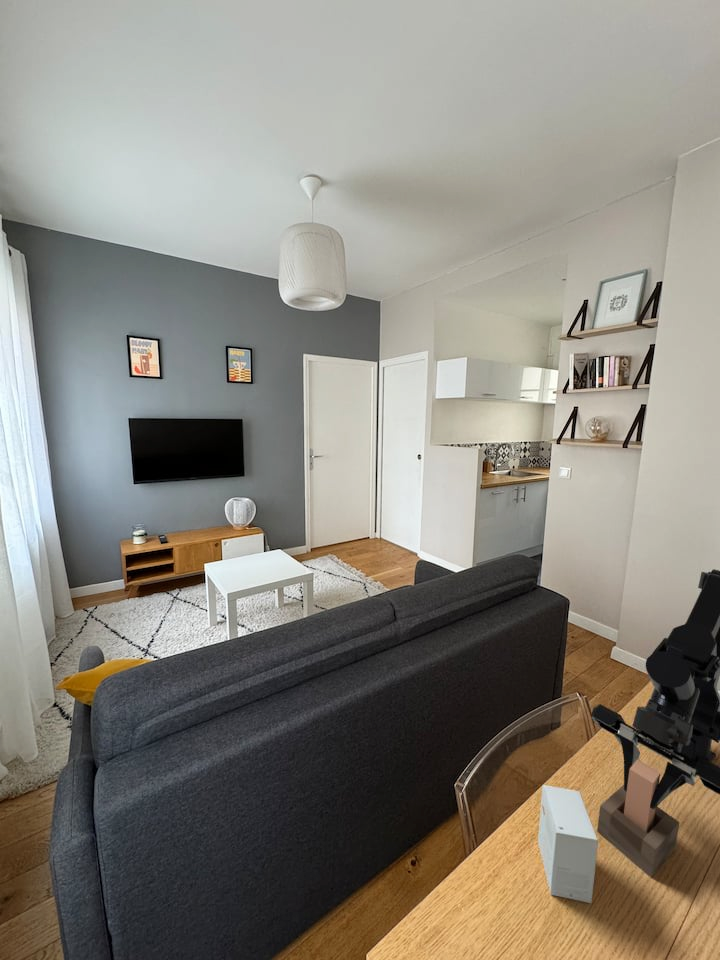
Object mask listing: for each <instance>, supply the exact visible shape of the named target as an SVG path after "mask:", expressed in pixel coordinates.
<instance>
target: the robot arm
mask: <svg viewBox="0 0 720 960" xmlns="http://www.w3.org/2000/svg"><path fill="white" fill-rule="evenodd" d="M697 588H698V589H700V592H699V595H697V596H698V597H697V598H696V601H695V602H694V604H693V606H692V609H691V612H690V614H689V615H688V617H687V620H686V621H685V623H683V624H681V625H678V626H676V627H672V630H671V632H670V633H669V635H668V636H667V637H664V638H663V639H662V641H661V642H659V644H658V646H657V647H655V649H654V650H653V651H652V653H651V654H650V655H649V656H648V657H647V658H646V660H645V669H646V672H647V675H648V676H649V680H650V681H651V684H652V686H653V687H654V688H653V690H652V693H651V695H650V697H649V699H648V701H647V703H646V705H645V706H637V708H636V711H635V715H634V718H633V721H632V725H630V724H627V723H626V721H625V719H624V718H623V716H622V715H621V714H620V713H618V712H616V711H614V710H612V709H611V708H608V707H606V706H605V705H603V704H601V703H600V704H597V705H595V706H594V707H593V709H592V711H591V713H590V717H591V718H592V720H593V721H594V722H595V724H596V725H597V726H598V727H600V728H601V729H603V730H605V731H607V732H608V733H610V734H612V735H613V736H614V737H615V739H616V740H617V741H618V742H619V744H620V745H621V749H622V756H623V785H624V790H625V791H626V792H627V785H628V777H629V770H630V768H631V766H632V765H633V764H634V763H635V761H636V760H637V759H638V760H640V756H641V751H640V750H639V748H638V746H640V745H641V746H644V748H647V749H648V750H651V752H652V751H653V752H654V753H656V754H658V755H660V756H662V757H663V758H664V759H666V760H668V761H667V762H666V765H665V769H664V772H663V774H662V776H661V779H660V780H659V785H658V787H657V789H656V791H655V793H654V795H653V797H652V801H651V804H650V807H651V808H652V809H655V808H656V807H658V806H660V804H661V803H662V802H663V801H664V800H665V799H666V798H667V797H668V796H670V794H672V793H673V792H674V791H676V790H677V789H679V788H680V787H683V786H684V785H685V784H688V785H691V786H693V787H694V786H695V784H696V782H695V778H697V777H699V780H700V781H701V783H702V784H703V786H704V787H705V788H706V789H709V790H711V791H712V792H713V793H716V794H718V796H720V766H719V765H717V764H715V763H713V761H714V760H715V758H716V757H717V753H716V752H714V751H712V750H711V748H712V743H713V741H714V742H715V743H717V744H719V743H720V692H719V690H718V684H719V679H720V570H719V569H714V568H713V569H712V570H711V571H708V572H705V571H701V574H700V577H699V582H698V587H697ZM669 761H670V762H669Z"/></svg>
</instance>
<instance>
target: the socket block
mask: <svg viewBox="0 0 720 960" xmlns="http://www.w3.org/2000/svg"><path fill="white" fill-rule="evenodd" d="M626 793H627V792H626V791H625V790H624V784H622V786H620V787H619V788H618V789H617V790H616V791H615V792H614V793H612V794H611V795H610V796H609V797H608V798H607V799H606V800H605V801H604V802H603V803H601V804H600V805H599V813H598V820H597V821H598V822H597V829H596V831H597V833H598V834H600V836H602V837H603V838H604V839H605V840H606V841H608V842H609V843H610V844H611V845H612V846H613V847H614V848H616V850H618V851H619V852H620V853H622V855H624V856H625V857H626V858H627V859H628V860H630V861H631V862H632V863H633V864H635V865H636V866H637V867H638V868H640V870H641V871H643V872H644V873H645V874H646V875H647V876H648V877H650V878H653V876H654V875H655V874H656V873H657V872H658V870H659V869H660V868H661V867H662V866H663V865H664V864H665V862H666V861H667V860H668V858H670V856H671V855H672V854H673V853H674V851H675V850H676V846H677V841H678V835H679V834H678V833H679V828H680V822H679V821H678V820H677V819H676V818H674V817H673V816H671V815H670V814H669V813H667V812H666V811H664V810H663V809H661V808H660V807H658V806H657V807H656V808H655V814H654V821H653V828H652V830H651V831H650V832H649V833H647V832H646V831H644V830H643V829H642V828H640V827H639V826H638V825H637V824H635V823H634V822H633V821H631V820H630V819H629V818H628V817H626V816H625V815H624V808H625V800H626Z"/></svg>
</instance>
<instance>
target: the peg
mask: <svg viewBox="0 0 720 960" xmlns="http://www.w3.org/2000/svg"><path fill="white" fill-rule="evenodd" d="M660 778H661V771H659V770H657V769H655V768H653V767H652V766H650V765H649V764H647V763H645V762H644V761H642V760H640V759H637V760H636V761H635V763H634V764H633V765H632V766H631V768H630V770H629V777H628V785H627V793H626V800H625V808H624V815H625V816H626V817H628V818H629V819H630V820H631V821H633V822H634V823H635V824H637V825H638V826H639V827H640V828H642V829H643V830H644V831H646V832H647V833H649V832H650V831H651V830H652V828H653V821H654V814H655V809H652V808H651V807H650V804H651V801H652V797H653V795H654V793H655V791H656V789H657V787H658V785H659V783H660V781H661V779H660Z"/></svg>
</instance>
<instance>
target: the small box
mask: <svg viewBox="0 0 720 960" xmlns="http://www.w3.org/2000/svg"><path fill="white" fill-rule="evenodd" d="M541 787H542V789H541V802H540V811H539V812H540V813H539V825H538V835H537V837H538V838H537V841H538V845H539V850H540V854H541V858H542V863H543V868H544V872H545V875H546V876H545V877H546V879H547V880H546V881H547V885H548V888H549V894H550V895H551V896H556V897H562V898H565V899H569V900H570V899H571V900H575V901H580V902H584V903H589V904H592V902H593V892H594V884H595V875H596V874H595V872H596V865H597V857H598V846H599V839H598V836H597V834H596V831H595V829H594V826H593V825H594V824H593V823H592V820H591V818H590V815H589V812H588V810H587V807H586V805H585V803H584V799H583V796H582V795H581V792H580V791H579V790H574V789H568V788H564V787H557V786H551V785H545V784H543V785H542V786H541Z"/></svg>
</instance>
